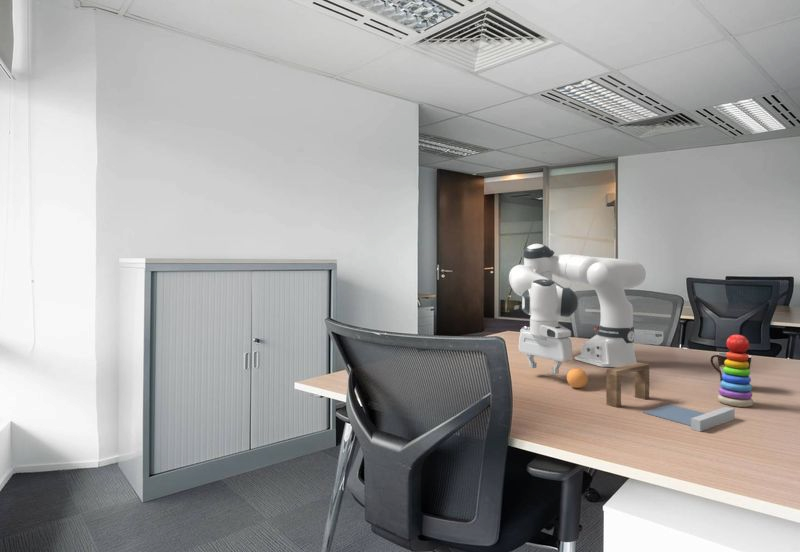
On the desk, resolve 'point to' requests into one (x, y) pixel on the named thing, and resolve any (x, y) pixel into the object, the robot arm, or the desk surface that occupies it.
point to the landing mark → (674, 413)
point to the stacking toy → (736, 374)
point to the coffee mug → (721, 360)
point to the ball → (577, 378)
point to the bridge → (615, 382)
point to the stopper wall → (712, 419)
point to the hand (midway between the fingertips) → (543, 370)
